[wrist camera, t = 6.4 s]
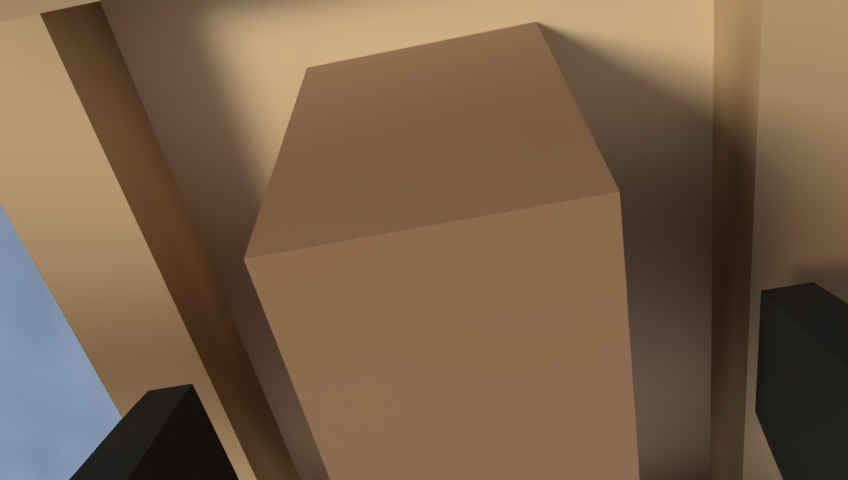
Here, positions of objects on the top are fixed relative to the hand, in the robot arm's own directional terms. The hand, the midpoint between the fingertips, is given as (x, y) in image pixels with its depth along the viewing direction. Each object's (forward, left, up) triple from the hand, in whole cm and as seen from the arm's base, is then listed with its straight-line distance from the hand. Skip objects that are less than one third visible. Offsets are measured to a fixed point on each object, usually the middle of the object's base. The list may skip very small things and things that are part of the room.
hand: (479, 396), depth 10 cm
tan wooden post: (0, 0, -2) cm, 2 cm away
